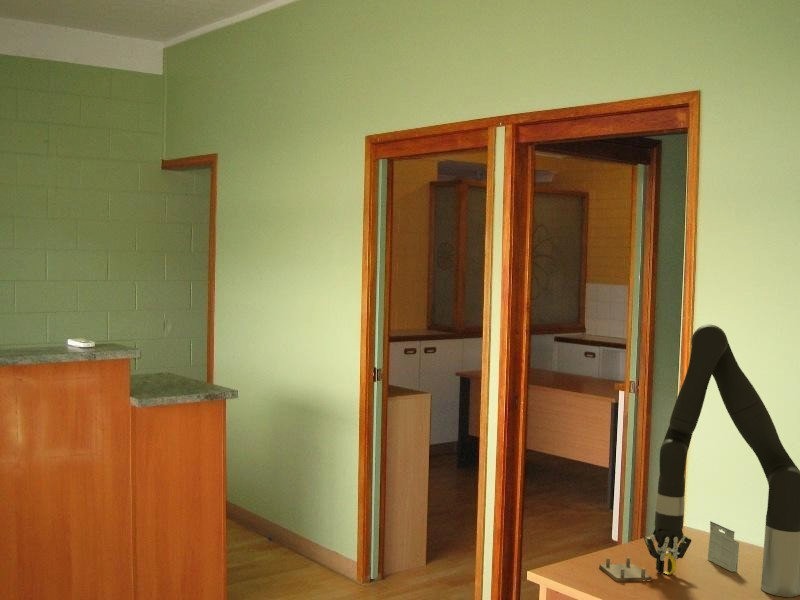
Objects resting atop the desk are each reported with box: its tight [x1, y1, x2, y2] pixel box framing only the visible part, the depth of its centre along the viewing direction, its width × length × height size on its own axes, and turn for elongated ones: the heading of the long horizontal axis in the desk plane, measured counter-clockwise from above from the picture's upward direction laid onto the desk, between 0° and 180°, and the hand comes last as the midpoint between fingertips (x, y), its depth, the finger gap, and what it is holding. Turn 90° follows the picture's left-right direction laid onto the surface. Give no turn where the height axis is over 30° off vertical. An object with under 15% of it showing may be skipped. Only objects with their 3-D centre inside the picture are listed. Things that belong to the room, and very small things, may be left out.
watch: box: [655, 550, 677, 576], centre depth 256 cm, size 6×3×6 cm, turn 33°
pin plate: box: [598, 557, 653, 583], centre depth 253 cm, size 10×11×3 cm
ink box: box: [707, 520, 740, 573], centre depth 266 cm, size 12×2×12 cm, turn 16°
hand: (665, 572), depth 256 cm, fingers closed on watch, 2 cm apart
